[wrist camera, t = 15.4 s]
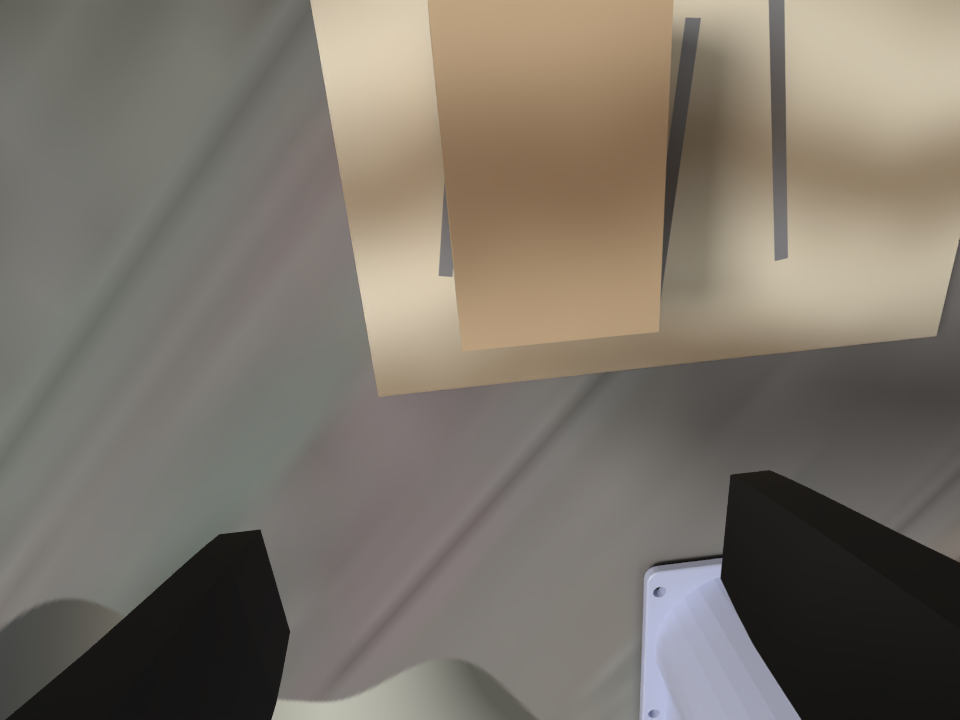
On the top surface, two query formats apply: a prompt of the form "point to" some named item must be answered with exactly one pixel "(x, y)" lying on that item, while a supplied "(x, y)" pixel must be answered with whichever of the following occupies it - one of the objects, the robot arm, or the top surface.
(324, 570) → the top surface
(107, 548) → the top surface
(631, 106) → the block
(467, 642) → the top surface
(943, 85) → the board
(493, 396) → the top surface
